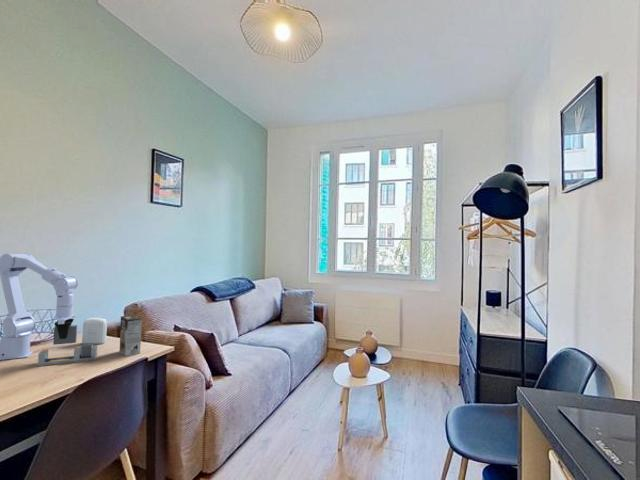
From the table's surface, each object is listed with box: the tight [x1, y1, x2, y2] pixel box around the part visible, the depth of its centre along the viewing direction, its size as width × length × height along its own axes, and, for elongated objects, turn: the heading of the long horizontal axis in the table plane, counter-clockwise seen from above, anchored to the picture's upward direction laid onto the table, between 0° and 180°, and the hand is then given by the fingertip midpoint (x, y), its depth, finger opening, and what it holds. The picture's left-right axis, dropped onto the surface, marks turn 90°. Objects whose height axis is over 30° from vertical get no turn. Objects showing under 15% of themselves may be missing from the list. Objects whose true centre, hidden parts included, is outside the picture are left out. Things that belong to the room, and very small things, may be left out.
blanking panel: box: [52, 324, 78, 346], centre depth 141 cm, size 8×2×7 cm, turn 118°
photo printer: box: [81, 317, 108, 345], centre depth 163 cm, size 10×4×12 cm, turn 98°
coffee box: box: [119, 314, 143, 357], centre depth 152 cm, size 9×6×16 cm
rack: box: [37, 343, 98, 367], centre depth 138 cm, size 19×6×6 cm, turn 118°
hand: (63, 337), depth 141 cm, fingers closed on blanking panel, 2 cm apart
